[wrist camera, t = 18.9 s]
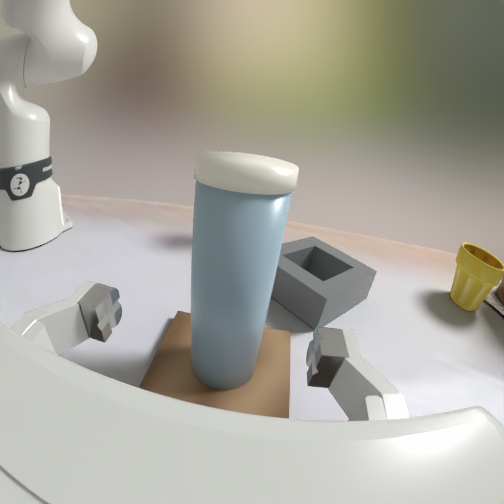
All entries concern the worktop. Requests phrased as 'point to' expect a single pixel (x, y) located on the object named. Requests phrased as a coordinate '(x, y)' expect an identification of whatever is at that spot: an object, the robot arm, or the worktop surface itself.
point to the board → (238, 400)
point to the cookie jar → (497, 297)
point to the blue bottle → (235, 260)
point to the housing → (319, 281)
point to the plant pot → (475, 276)
